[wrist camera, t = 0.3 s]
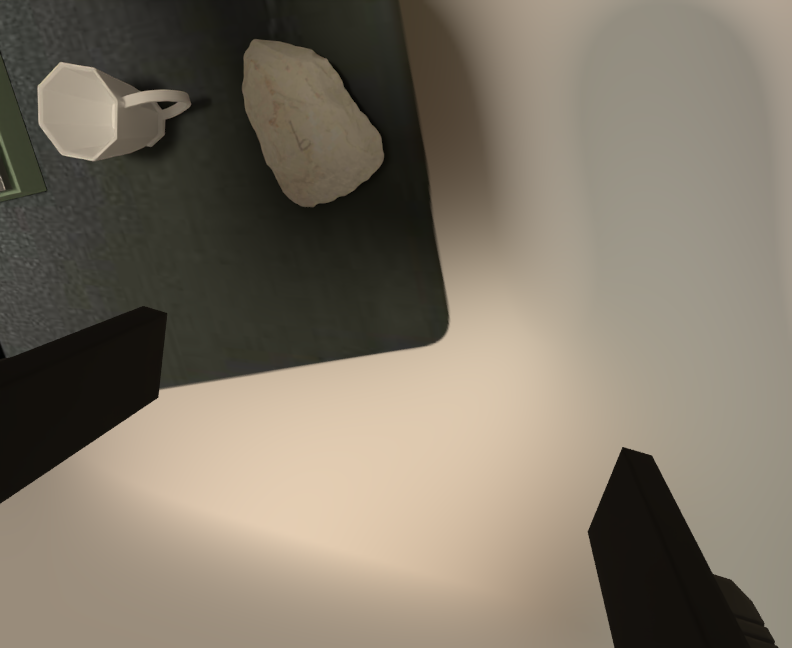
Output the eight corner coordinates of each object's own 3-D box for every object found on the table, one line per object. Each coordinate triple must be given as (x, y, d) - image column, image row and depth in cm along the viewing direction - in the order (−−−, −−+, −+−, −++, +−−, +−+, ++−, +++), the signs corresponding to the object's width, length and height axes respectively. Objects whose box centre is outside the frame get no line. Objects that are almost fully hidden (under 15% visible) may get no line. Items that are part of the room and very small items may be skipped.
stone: (305, 217, 48) (283, 224, 43) (231, 67, 46) (200, 57, 41) (400, 170, 46) (388, 172, 41) (328, 8, 43) (306, -10, 38)
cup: (96, 89, 48) (20, 74, 41) (196, 57, 46) (136, 36, 38) (123, 170, 50) (54, 171, 42) (221, 144, 48) (167, 140, 40)
